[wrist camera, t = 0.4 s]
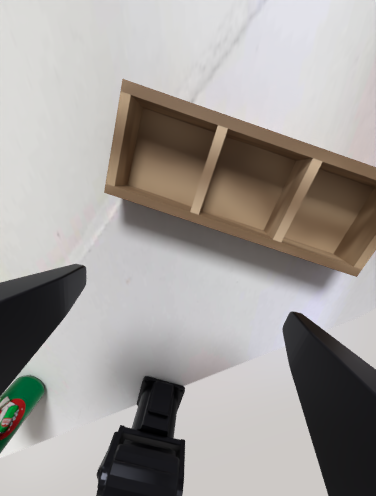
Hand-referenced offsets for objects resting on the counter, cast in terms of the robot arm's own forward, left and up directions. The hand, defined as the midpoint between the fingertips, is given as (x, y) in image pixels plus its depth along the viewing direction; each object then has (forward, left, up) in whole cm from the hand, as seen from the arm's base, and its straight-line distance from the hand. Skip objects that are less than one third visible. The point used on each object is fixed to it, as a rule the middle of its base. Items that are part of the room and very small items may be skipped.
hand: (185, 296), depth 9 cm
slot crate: (+5, -3, -15) cm, 16 cm away
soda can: (-34, +19, -15) cm, 42 cm away
